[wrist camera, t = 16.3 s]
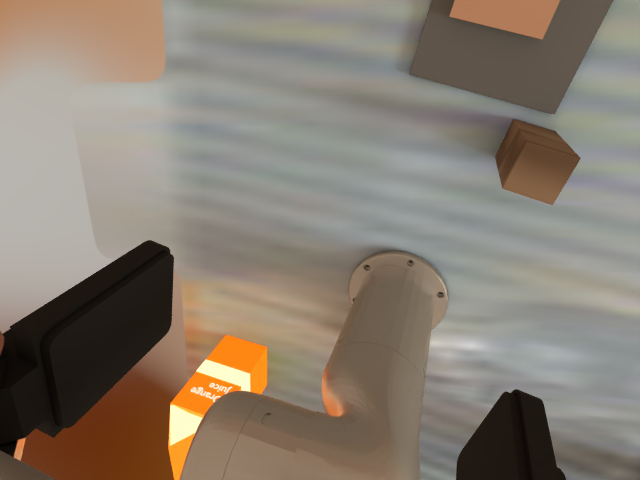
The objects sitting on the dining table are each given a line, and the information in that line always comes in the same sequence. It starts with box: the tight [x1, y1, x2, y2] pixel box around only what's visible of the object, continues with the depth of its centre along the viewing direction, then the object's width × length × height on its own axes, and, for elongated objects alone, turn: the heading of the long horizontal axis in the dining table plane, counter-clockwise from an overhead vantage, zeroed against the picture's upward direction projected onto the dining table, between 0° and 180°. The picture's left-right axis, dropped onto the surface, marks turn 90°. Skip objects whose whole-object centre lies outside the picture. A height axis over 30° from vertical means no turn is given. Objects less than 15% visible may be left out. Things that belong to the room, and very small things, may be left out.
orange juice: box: [169, 335, 267, 480], centre depth 58 cm, size 8×9×20 cm
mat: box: [409, 0, 613, 114], centre depth 34 cm, size 15×14×1 cm
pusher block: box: [495, 119, 581, 205], centre depth 35 cm, size 4×4×10 cm
